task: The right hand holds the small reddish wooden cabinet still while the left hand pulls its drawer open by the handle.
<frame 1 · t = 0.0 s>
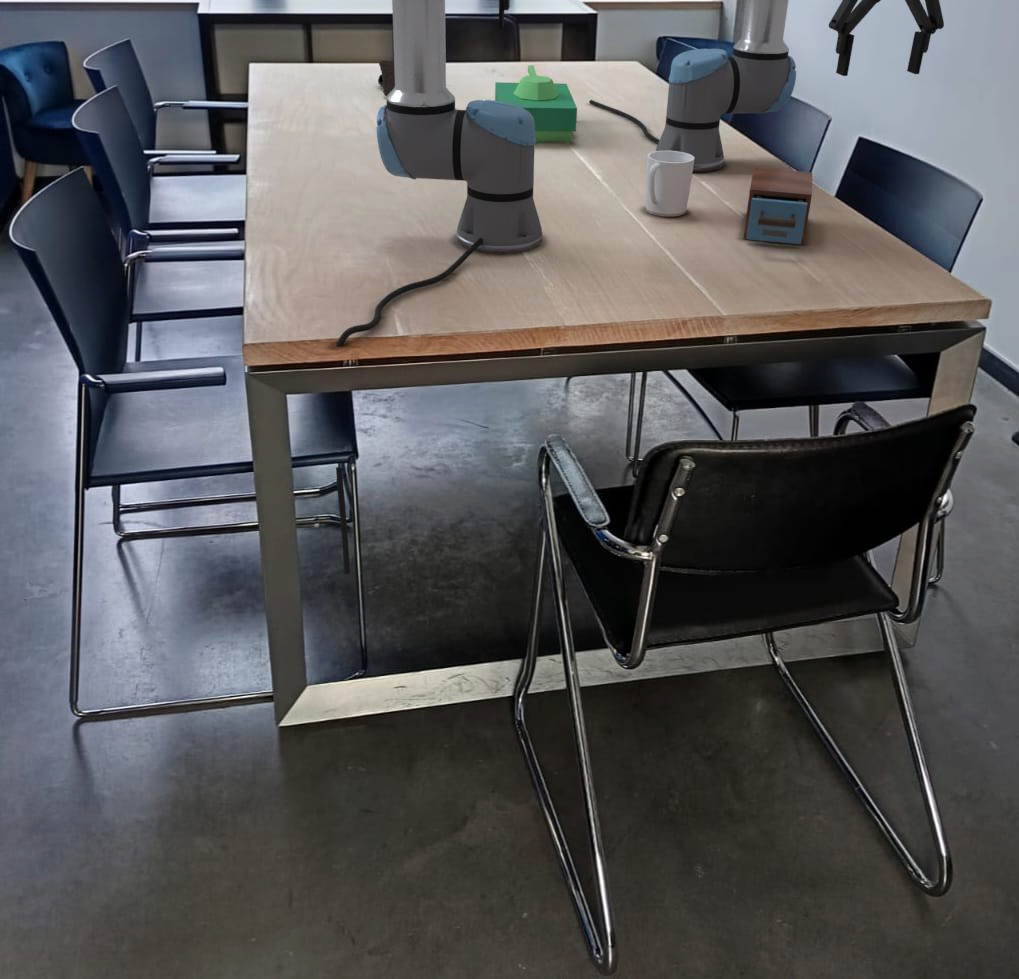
left hand: (468, 26, 224), 28 cm above the table, tool pointing down, fingers open, 13 cm apart
right hand: (877, 73, 190), 28 cm above the table, tool pointing down, fingers open, 13 cm apart
mug: (662, 212, 212), on the table
toy tank: (532, 128, 267), on the table
axe head: (403, 91, 300), on the table
cabinet: (774, 229, 204), on the table
drawer: (777, 215, 197), point 5 cm above the table, slide at 1.7 cm
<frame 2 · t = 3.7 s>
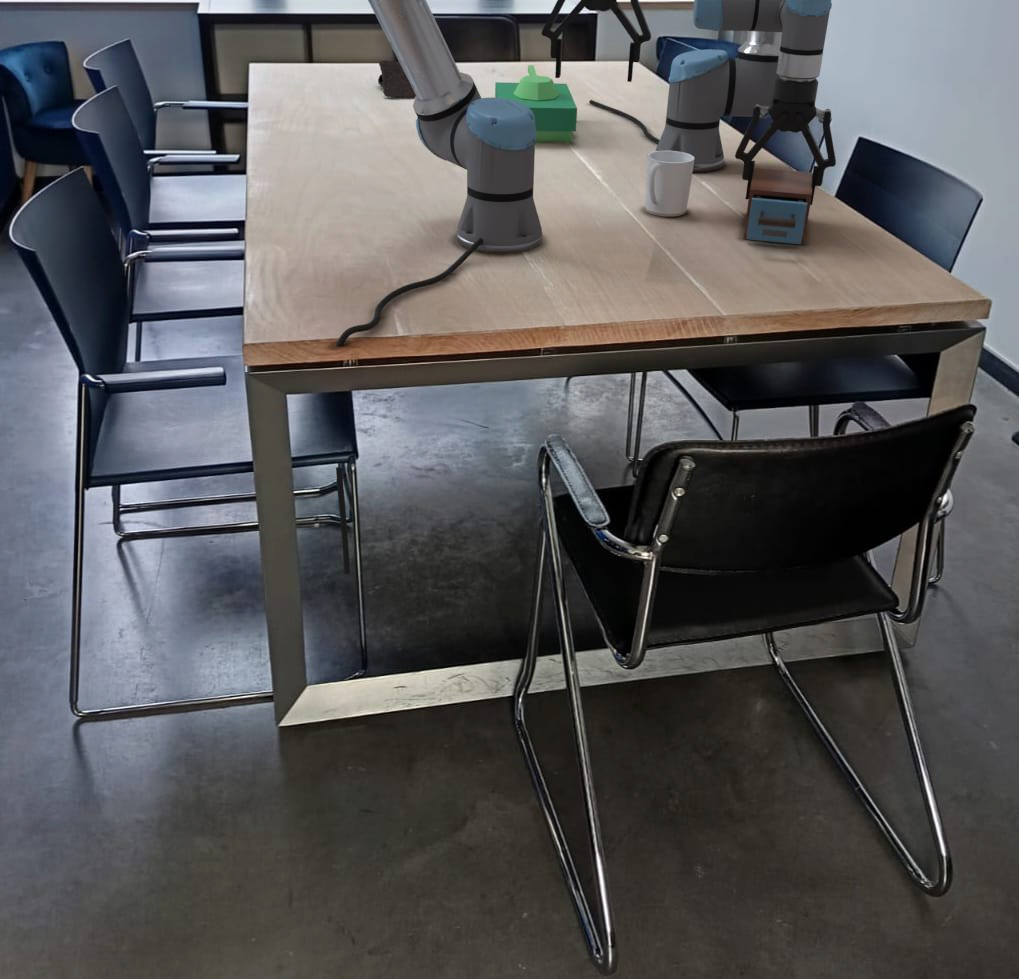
left hand: (593, 78, 207), 23 cm above the table, tool pointing down, fingers open, 13 cm apart
right hand: (778, 200, 206), 4 cm above the table, tool pointing down, fingers closed on cabinet, 11 cm apart
cabinet: (774, 229, 204), on the table, touching right hand
everything else where it was.
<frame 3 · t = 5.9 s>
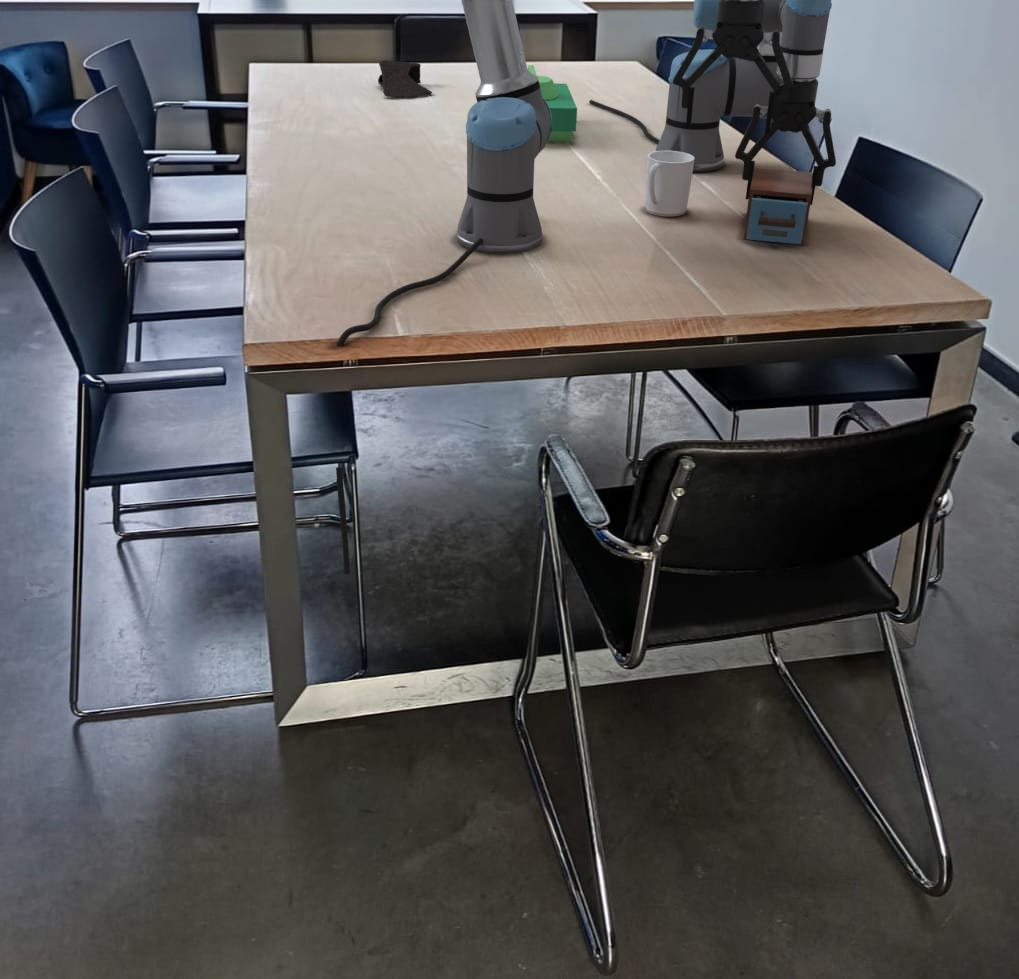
left hand: (727, 129, 191), 19 cm above the table, tool pointing down, fingers open, 13 cm apart
right hand: (778, 200, 206), 4 cm above the table, tool pointing down, fingers closed on cabinet, 11 cm apart
cabinet: (774, 229, 204), on the table, touching right hand
everything else where it was.
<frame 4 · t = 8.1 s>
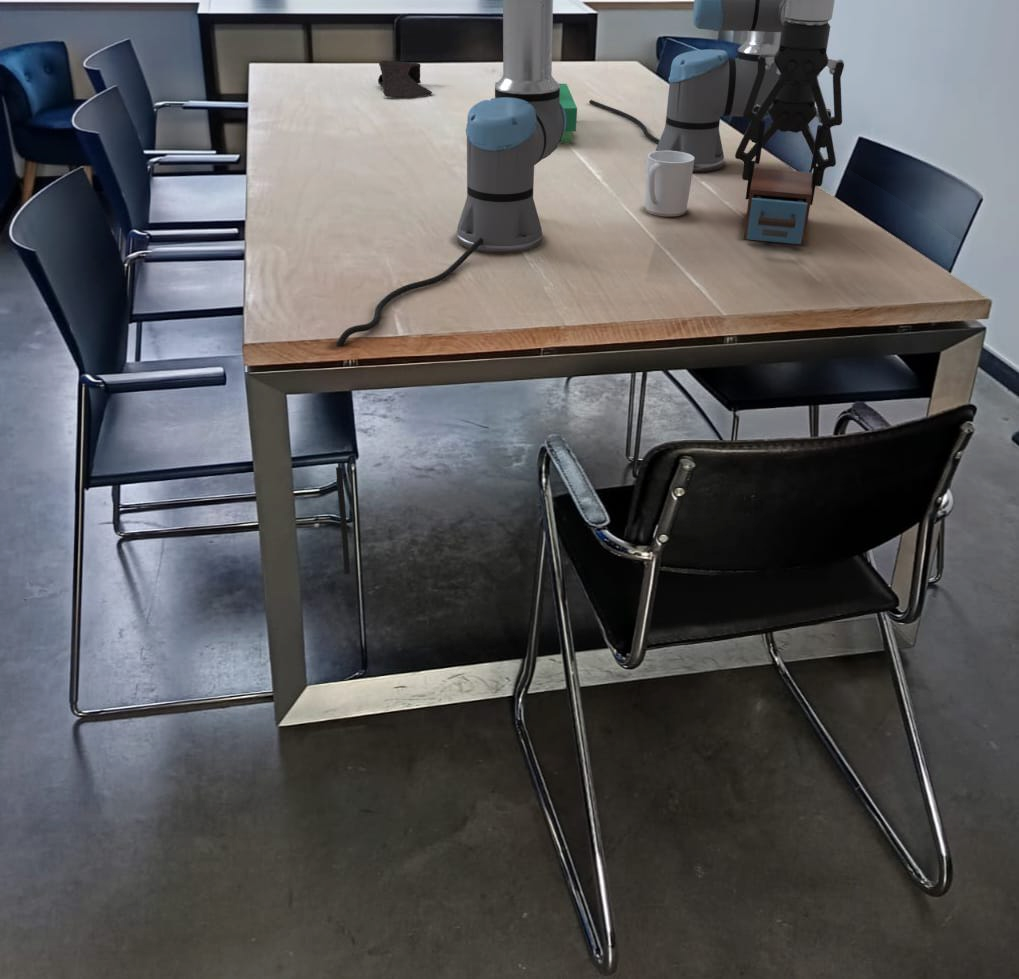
left hand: (785, 164, 186), 15 cm above the table, tool pointing down, fingers open, 9 cm apart
right hand: (778, 200, 206), 4 cm above the table, tool pointing down, fingers closed on cabinet, 11 cm apart
cabinet: (774, 229, 204), on the table, touching right hand
everything else where it was.
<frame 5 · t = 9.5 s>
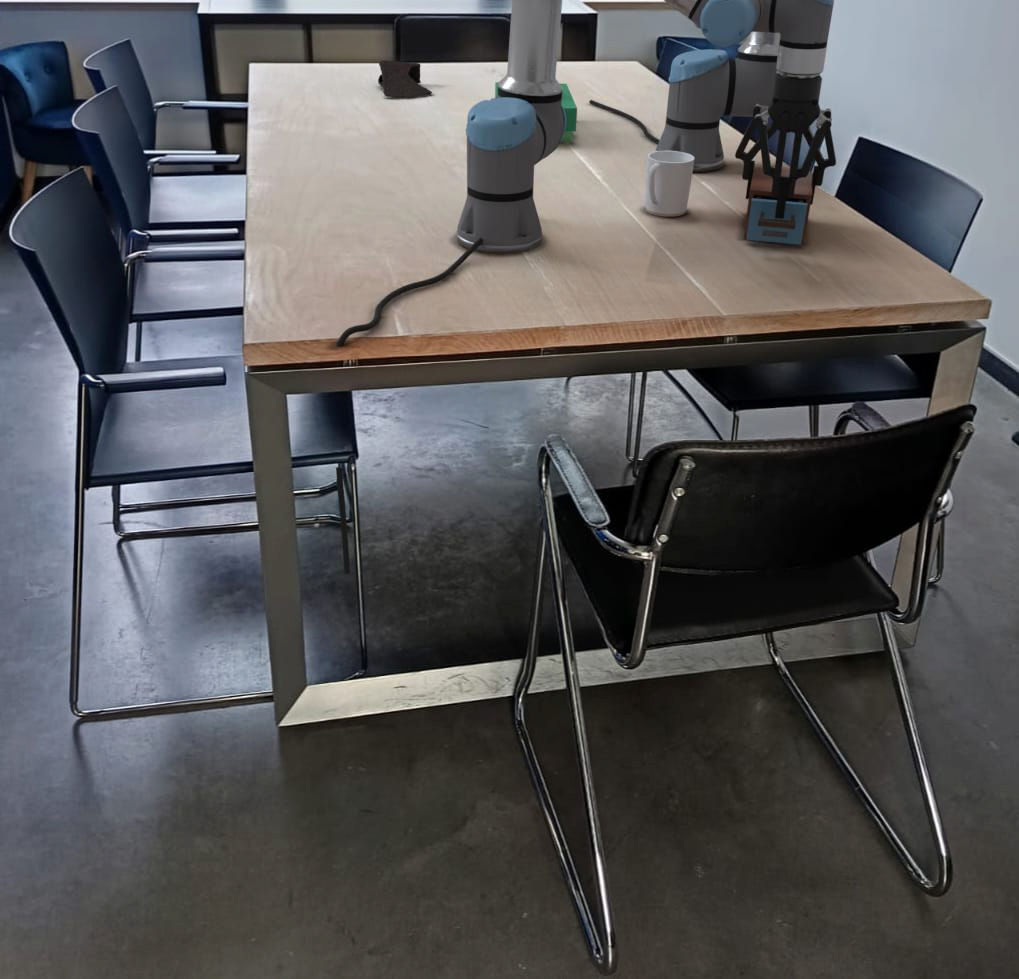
left hand: (779, 216, 190), 6 cm above the table, tool pointing down, fingers closed
right hand: (779, 199, 206), 4 cm above the table, tool pointing down, fingers closed on cabinet, 11 cm apart
cabinet: (774, 228, 204), on the table, touching right hand
drawer: (777, 215, 197), point 5 cm above the table, slide at 1.7 cm, touching left hand
everything else where it was.
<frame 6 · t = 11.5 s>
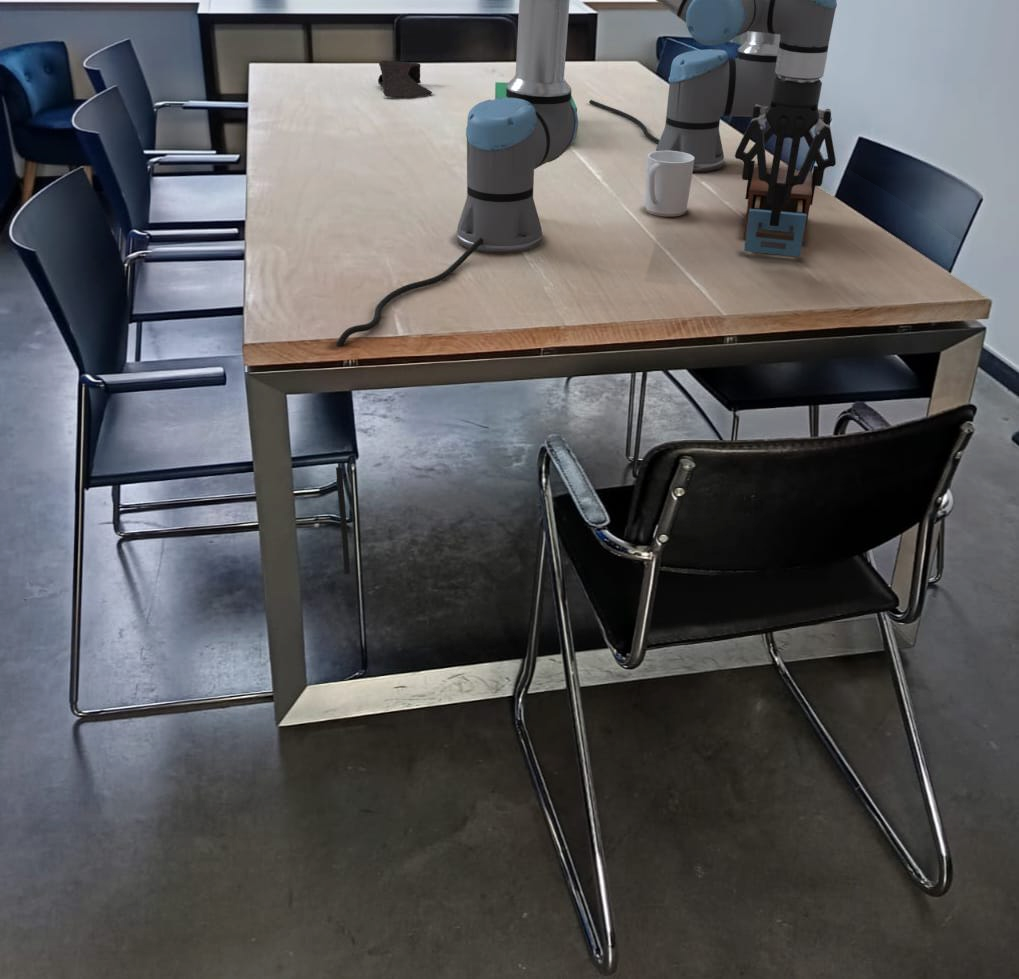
left hand: (774, 223, 185), 7 cm above the table, tool pointing down, fingers closed
right hand: (778, 200, 206), 4 cm above the table, tool pointing down, fingers closed on cabinet, 11 cm apart
cabinet: (774, 228, 204), on the table, touching right hand
drawer: (775, 226, 192), point 4 cm above the table, slide at 7.9 cm
everything else where it was.
when the right hand's fingers open (4 cm above the table, at t = 12.9 s): cabinet stays where it is, on the table.
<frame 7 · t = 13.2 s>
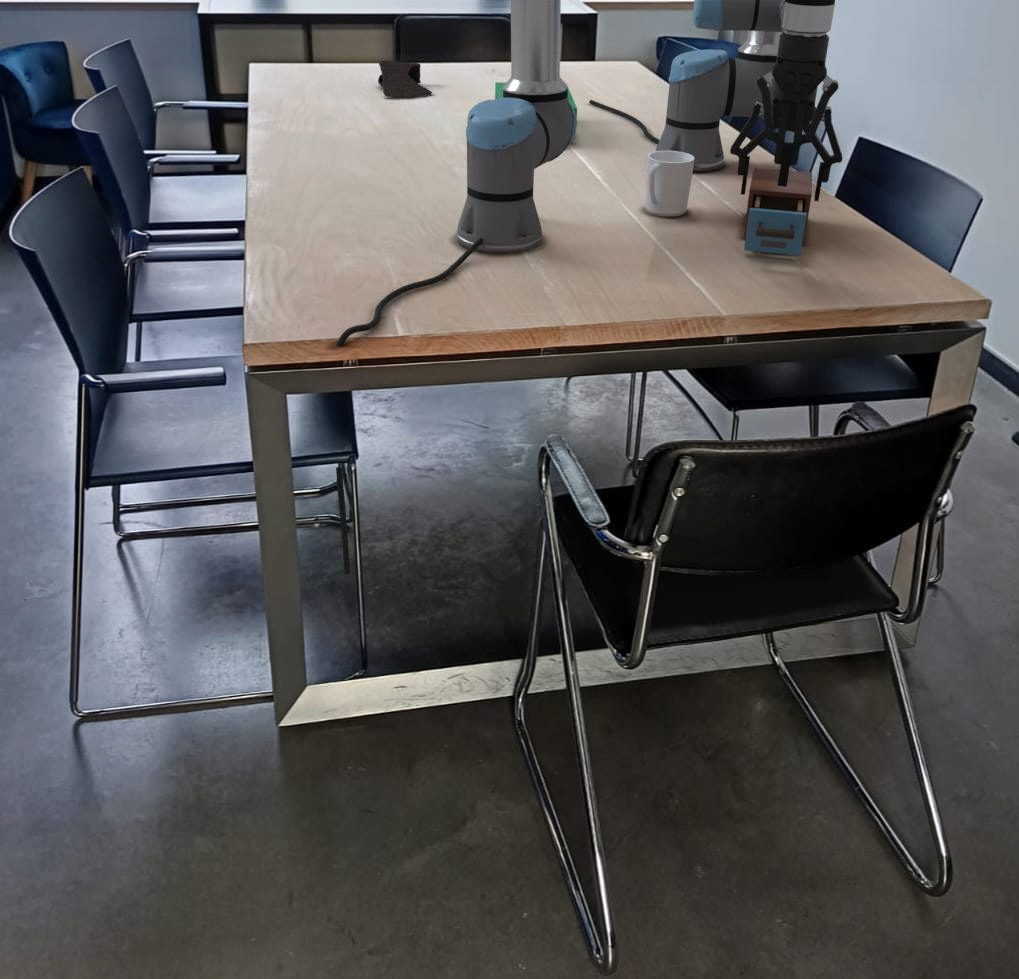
left hand: (782, 183, 182), 14 cm above the table, tool pointing down, fingers closed
right hand: (779, 196, 205), 5 cm above the table, tool pointing down, fingers open, 13 cm apart
cabinet: (774, 229, 204), on the table
everything else where it was.
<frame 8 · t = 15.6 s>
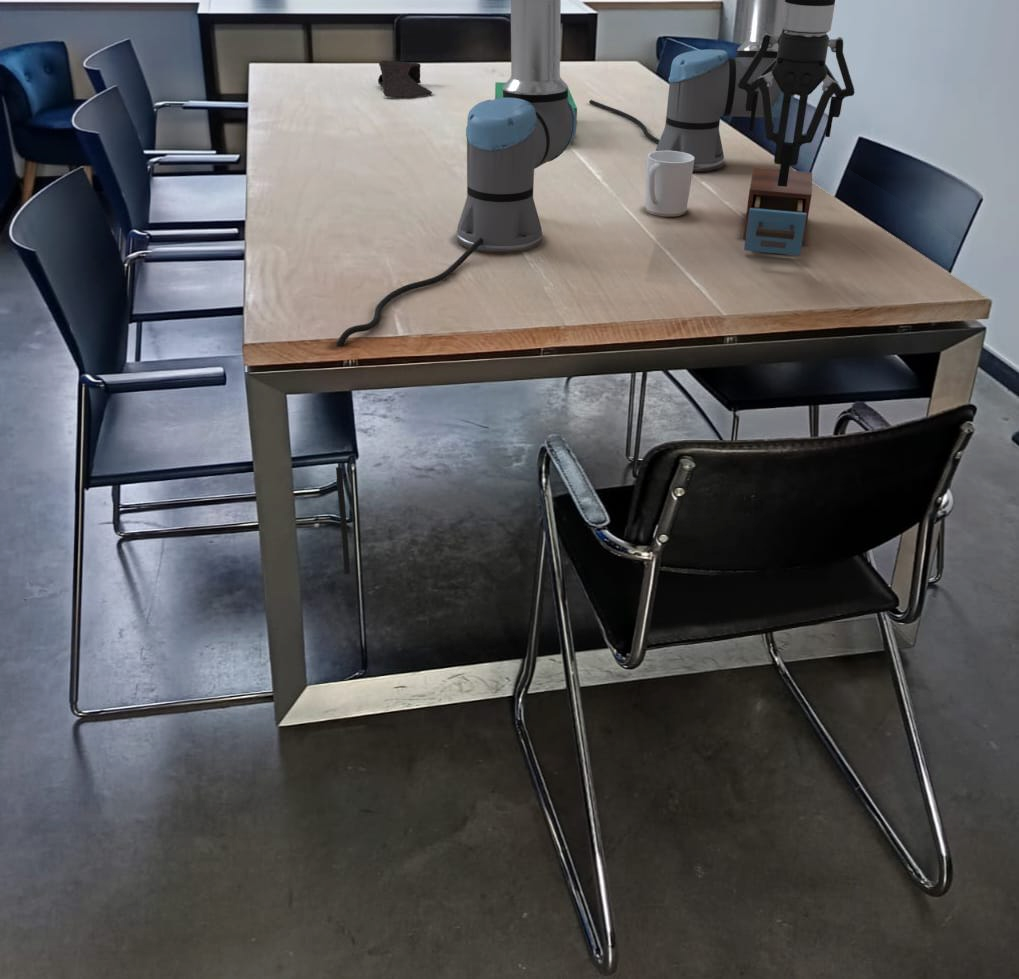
left hand: (782, 183, 182), 14 cm above the table, tool pointing down, fingers closed
right hand: (789, 132, 199), 17 cm above the table, tool pointing down, fingers open, 13 cm apart
nothing on the table moved.
at the end: drawer slide at 7.9 cm; cabinet tilted 0°; cabinet never tilted more than 2° during the clip; cabinet moved 0.0 cm from its start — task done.
